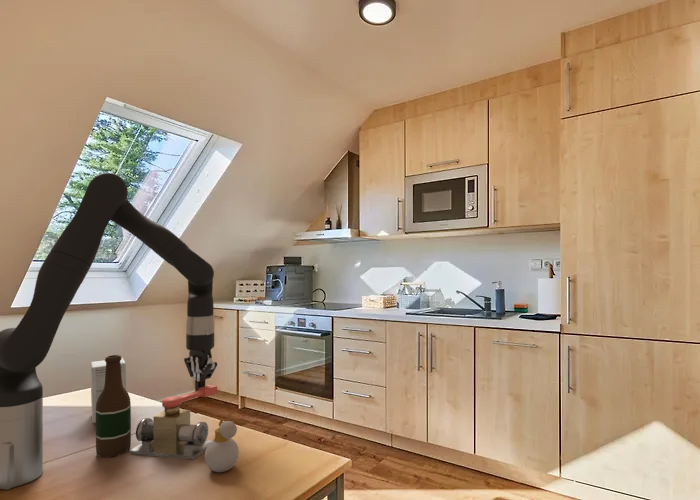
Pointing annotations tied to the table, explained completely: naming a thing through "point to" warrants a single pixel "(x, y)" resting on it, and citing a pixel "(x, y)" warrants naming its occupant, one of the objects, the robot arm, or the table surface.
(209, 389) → the lever
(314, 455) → the table surface
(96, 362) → the supplement box
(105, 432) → the beer bottle
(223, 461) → the perfume bottle
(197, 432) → the valve
